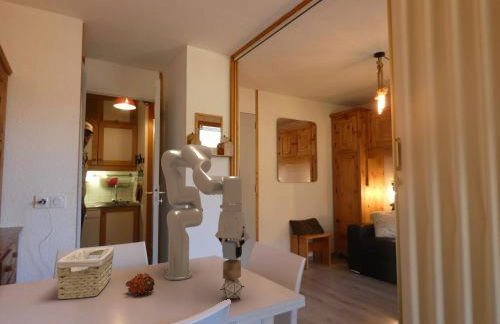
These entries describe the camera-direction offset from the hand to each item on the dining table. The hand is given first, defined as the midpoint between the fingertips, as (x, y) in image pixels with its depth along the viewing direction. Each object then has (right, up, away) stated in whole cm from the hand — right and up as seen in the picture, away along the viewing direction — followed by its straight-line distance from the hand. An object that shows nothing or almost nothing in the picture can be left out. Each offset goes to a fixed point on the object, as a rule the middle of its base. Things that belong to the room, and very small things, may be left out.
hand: (232, 255), depth 111 cm
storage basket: (-61, -17, +10) cm, 64 cm away
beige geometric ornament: (0, -16, -1) cm, 16 cm away
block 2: (0, -8, -1) cm, 8 cm away
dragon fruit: (-37, -17, +4) cm, 40 cm away
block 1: (0, -1, 0) cm, 1 cm away
